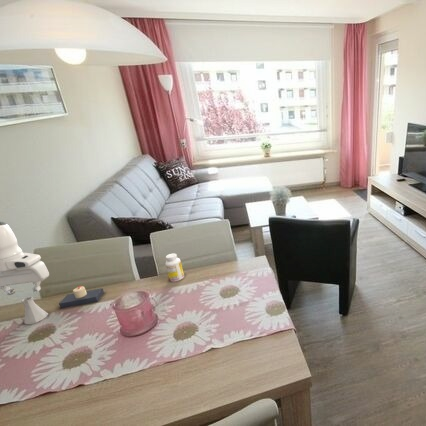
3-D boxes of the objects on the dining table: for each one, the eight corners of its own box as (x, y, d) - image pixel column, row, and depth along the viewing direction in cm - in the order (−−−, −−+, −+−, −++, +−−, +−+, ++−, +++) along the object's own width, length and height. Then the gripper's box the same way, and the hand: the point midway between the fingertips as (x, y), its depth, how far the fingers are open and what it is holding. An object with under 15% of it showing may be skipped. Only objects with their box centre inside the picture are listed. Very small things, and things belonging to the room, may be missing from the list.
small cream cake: (84, 296, 128) (81, 289, 127) (74, 299, 127) (70, 291, 126) (88, 292, 132) (85, 284, 131) (78, 294, 131) (75, 286, 130)
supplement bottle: (180, 273, 148) (174, 251, 144) (187, 277, 145) (181, 254, 140) (167, 279, 143) (160, 256, 139) (174, 283, 140) (167, 260, 135)
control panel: (61, 309, 126) (58, 303, 125) (69, 299, 132) (67, 294, 131) (97, 302, 129) (95, 296, 128) (104, 293, 135) (102, 288, 134)
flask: (37, 325, 117) (27, 304, 114) (19, 325, 117) (9, 305, 114) (52, 313, 124) (43, 293, 120) (36, 313, 124) (27, 293, 121)
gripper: (-29, 269, 107) (-12, 300, 112) (31, 262, 110) (46, 293, 114) (-13, 261, 113) (2, 291, 118) (44, 254, 116) (57, 284, 120)
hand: (24, 292), depth 116 cm, fingers open, 8 cm apart
